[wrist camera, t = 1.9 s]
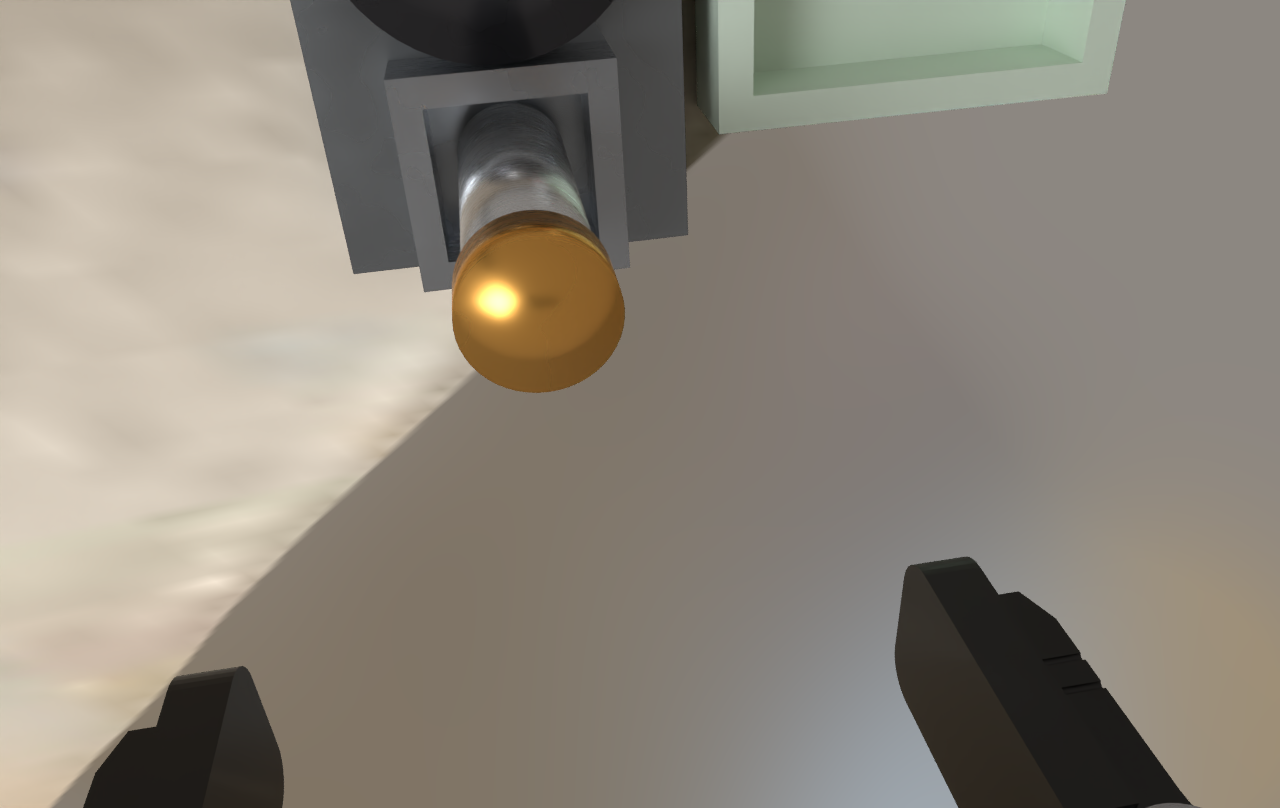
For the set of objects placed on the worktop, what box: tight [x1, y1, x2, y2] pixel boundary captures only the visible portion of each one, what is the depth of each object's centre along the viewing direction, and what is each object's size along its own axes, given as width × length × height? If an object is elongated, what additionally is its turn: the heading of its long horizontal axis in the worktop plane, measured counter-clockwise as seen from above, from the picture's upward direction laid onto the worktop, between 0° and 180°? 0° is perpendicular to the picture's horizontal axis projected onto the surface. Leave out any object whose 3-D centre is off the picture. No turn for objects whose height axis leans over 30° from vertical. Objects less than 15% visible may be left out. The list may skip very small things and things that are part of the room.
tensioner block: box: [290, 0, 688, 292], centre depth 26 cm, size 14×10×6 cm
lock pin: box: [452, 103, 625, 393], centre depth 24 cm, size 3×3×10 cm
